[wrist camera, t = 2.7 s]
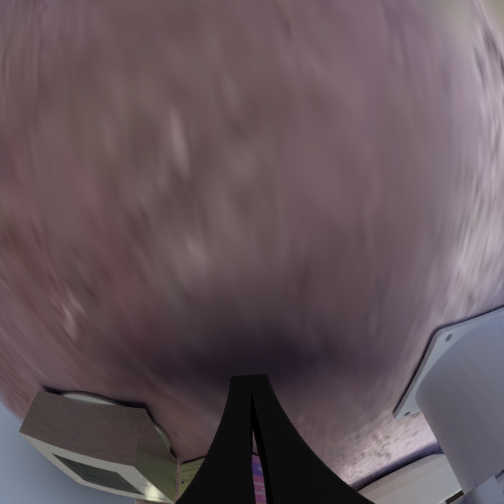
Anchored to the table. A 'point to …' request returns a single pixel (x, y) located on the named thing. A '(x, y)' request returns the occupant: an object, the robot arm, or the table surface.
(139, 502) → the pin
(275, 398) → the robot arm
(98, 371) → the table surface
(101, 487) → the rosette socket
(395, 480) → the bowl
